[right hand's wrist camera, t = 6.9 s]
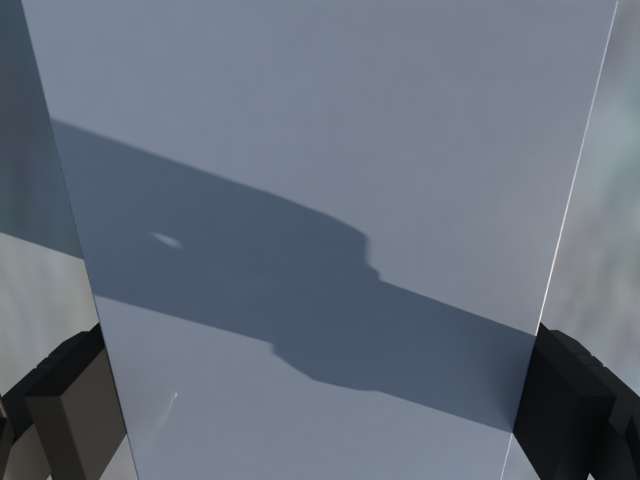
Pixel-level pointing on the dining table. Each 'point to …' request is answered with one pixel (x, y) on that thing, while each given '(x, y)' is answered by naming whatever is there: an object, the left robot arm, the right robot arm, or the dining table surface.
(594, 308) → the dining table surface
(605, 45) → the cabinet
